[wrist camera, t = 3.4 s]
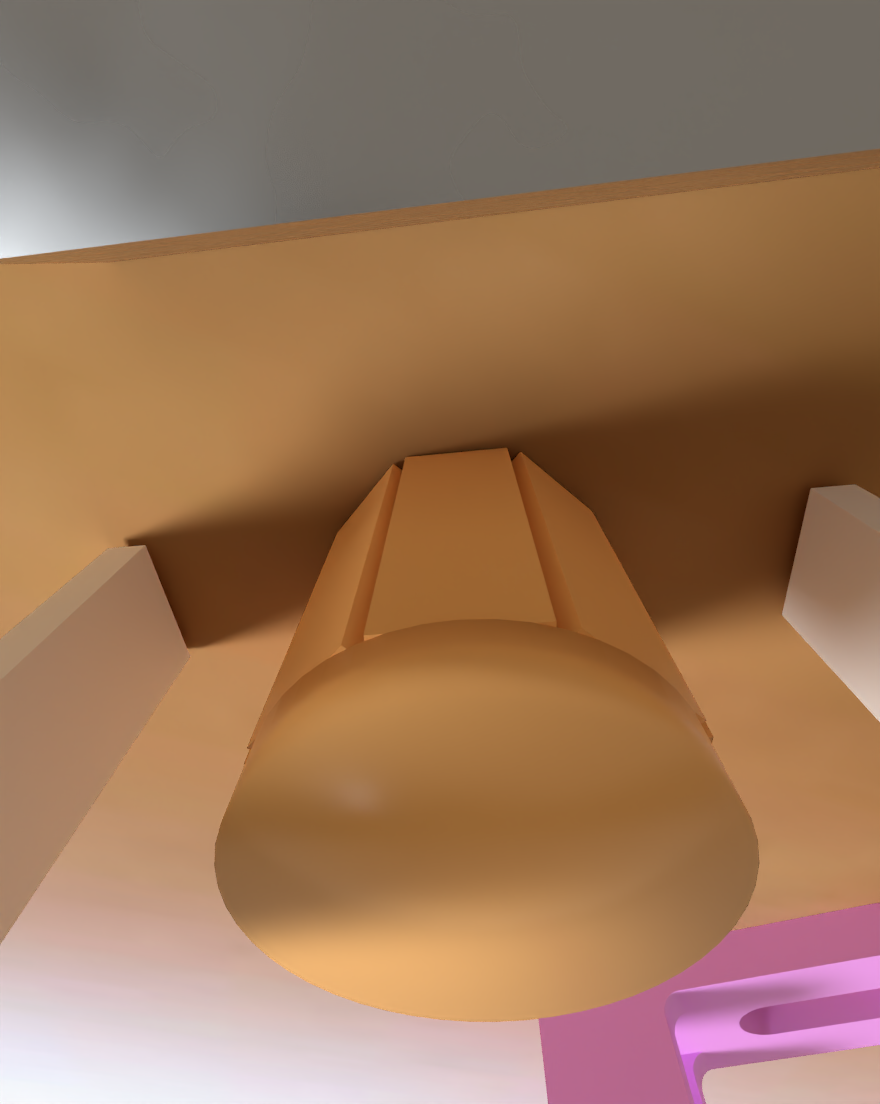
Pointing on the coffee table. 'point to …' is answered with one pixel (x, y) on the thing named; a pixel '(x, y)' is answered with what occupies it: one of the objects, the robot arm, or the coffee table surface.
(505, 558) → the orange faceted knob
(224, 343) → the coffee table surface
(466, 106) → the block
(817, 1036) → the bracket
